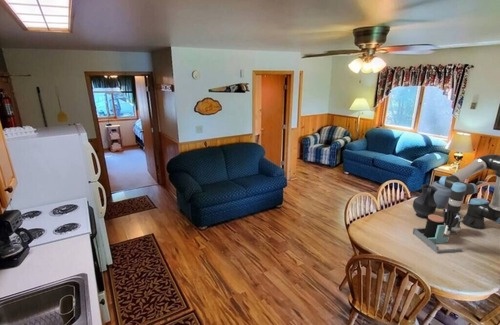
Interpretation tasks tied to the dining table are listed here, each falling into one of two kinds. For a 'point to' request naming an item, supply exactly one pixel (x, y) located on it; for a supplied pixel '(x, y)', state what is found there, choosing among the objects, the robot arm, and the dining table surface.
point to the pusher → (439, 235)
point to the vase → (441, 195)
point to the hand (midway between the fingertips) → (446, 233)
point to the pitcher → (425, 202)
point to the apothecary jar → (457, 227)
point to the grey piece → (419, 233)
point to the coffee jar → (432, 225)
